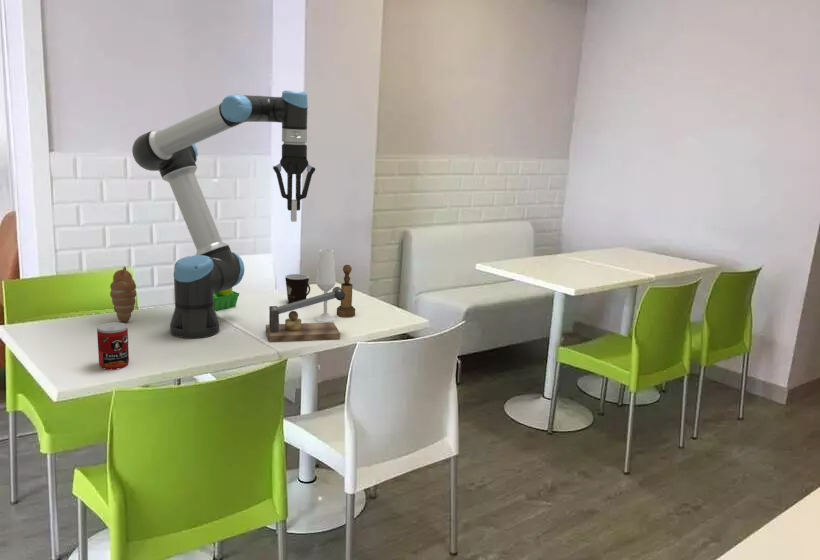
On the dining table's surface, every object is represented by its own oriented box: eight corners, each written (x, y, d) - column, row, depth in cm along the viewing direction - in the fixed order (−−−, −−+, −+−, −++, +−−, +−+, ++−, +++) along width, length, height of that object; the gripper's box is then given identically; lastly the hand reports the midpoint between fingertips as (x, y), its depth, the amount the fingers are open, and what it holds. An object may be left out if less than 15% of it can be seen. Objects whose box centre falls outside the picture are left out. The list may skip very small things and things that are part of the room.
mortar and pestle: (354, 318, 254) (355, 267, 250) (335, 317, 254) (336, 266, 250) (355, 312, 260) (357, 263, 256) (337, 311, 260) (339, 262, 256)
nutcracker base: (269, 342, 224) (269, 314, 222) (265, 330, 235) (266, 303, 233) (340, 339, 230) (340, 311, 228) (333, 328, 241) (334, 301, 239)
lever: (272, 319, 226) (269, 310, 225) (270, 314, 231) (268, 305, 230) (345, 299, 230) (343, 290, 230) (342, 294, 236) (340, 285, 235)
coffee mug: (283, 300, 272) (283, 274, 270) (306, 299, 275) (306, 273, 272) (288, 308, 261) (288, 281, 259) (311, 307, 264) (312, 281, 262)
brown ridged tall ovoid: (134, 325, 234) (132, 271, 229) (108, 325, 232) (106, 270, 228) (140, 318, 242) (138, 265, 238) (115, 317, 241) (112, 264, 237)
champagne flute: (336, 321, 249) (338, 252, 244) (317, 322, 247) (318, 252, 241) (332, 315, 255) (334, 248, 250) (313, 316, 253) (314, 248, 248)
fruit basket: (227, 302, 266) (227, 272, 263) (242, 307, 260) (242, 276, 258) (200, 307, 257) (200, 276, 255) (215, 313, 252) (215, 281, 249)
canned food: (103, 371, 194) (101, 332, 191) (95, 362, 200) (93, 324, 197) (132, 367, 198) (131, 328, 196) (124, 358, 204) (122, 320, 202)
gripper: (273, 143, 215) (273, 222, 220) (317, 145, 218) (316, 223, 224) (271, 142, 222) (271, 218, 227) (314, 143, 225) (312, 219, 231)
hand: (293, 220), depth 225 cm, fingers closed
